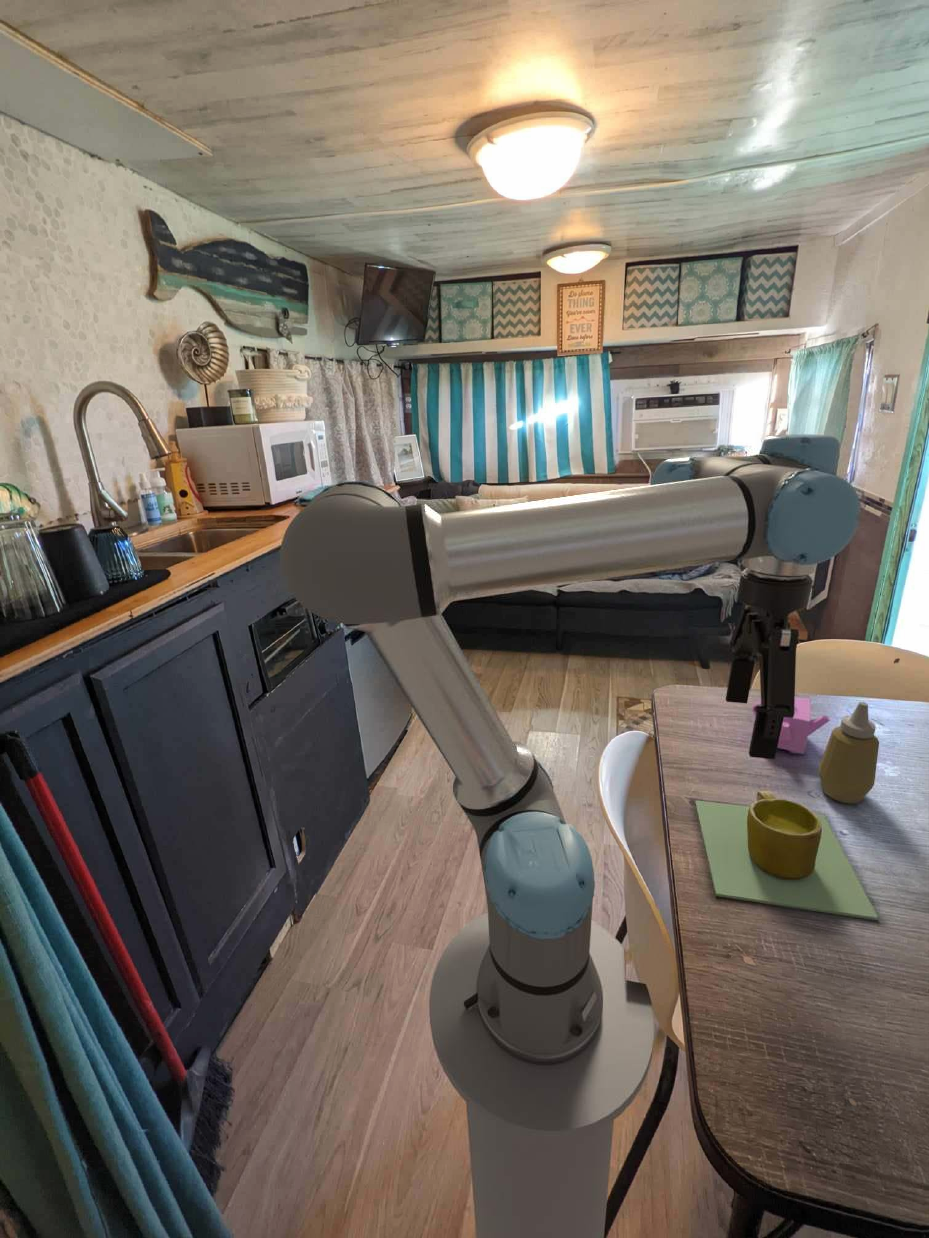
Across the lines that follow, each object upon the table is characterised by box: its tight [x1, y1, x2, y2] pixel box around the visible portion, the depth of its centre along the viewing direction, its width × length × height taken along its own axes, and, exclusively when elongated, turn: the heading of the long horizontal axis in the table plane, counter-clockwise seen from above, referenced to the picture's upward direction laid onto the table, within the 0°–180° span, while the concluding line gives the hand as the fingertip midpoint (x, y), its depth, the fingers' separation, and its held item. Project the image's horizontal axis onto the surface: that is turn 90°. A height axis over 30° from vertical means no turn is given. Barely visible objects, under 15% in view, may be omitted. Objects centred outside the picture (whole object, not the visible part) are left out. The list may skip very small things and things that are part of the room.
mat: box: [694, 800, 879, 921], centre depth 84 cm, size 20×20×1 cm
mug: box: [747, 790, 822, 880], centre depth 82 cm, size 12×10×10 cm
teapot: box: [752, 696, 831, 755], centre depth 108 cm, size 18×13×10 cm
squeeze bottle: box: [817, 701, 880, 804], centre depth 92 cm, size 8×8×18 cm
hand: (747, 726), depth 72 cm, fingers open, 13 cm apart
